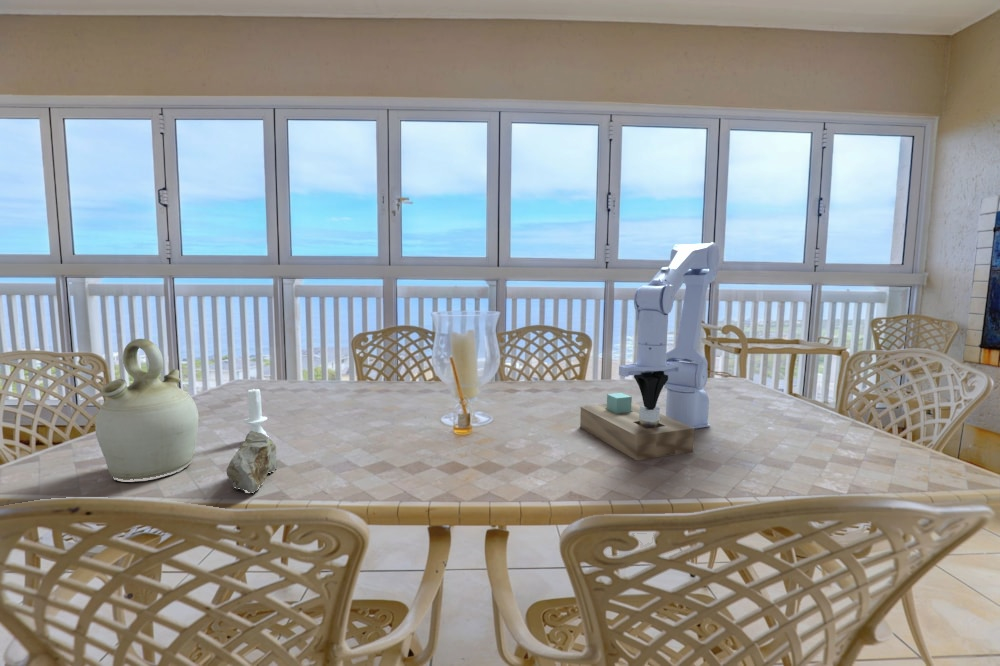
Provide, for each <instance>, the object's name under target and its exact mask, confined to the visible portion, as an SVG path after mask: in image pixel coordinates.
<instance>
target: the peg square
mask: <svg viewBox="0 0 1000 666" xmlns="http://www.w3.org/2000/svg"><path fill="white" fill-rule="evenodd" d="M632 397H633V396H631V395H628V394H626V393H624V392H617V393H607V394H606V404H607V410H609V411H611V412H613V413H615V414H620V413H629V412H631V403H633V402H632Z"/></svg>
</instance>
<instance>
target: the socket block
mask: <svg viewBox="0 0 1000 666" xmlns="http://www.w3.org/2000/svg"><path fill="white" fill-rule="evenodd" d="M640 406H641V405H640V404H637V403H635V402H632V403H631V412H629V413H620V414H615V413H613V412H611V411H609V410H607V403H606V404H604V403H603V404H595V405H587V406H580V414H579V415H580V416H579V417H580V422H579V423H580V425H579V427H580V428H581V429H583V430H584V431H586V432H588V433H589V434H591V435H593V436H594V437H596V438H598V439H600V440H601V441H603V442H604V443H606V444H608V445H609V446H611V447H613V448H614V449H616V450H617V451H619V452H622V453H623V454H624V455H626V456H628V457H629V458H632V459H633V460H635V461H636V462H637V461H644V460H648V459H655V458H661V457H666V456H673V455H678V454H679V455H680V454H685V453H687V454H688V453H691V452H694V441H695V440H694V439H695V438H694V437H695V429H694V428H693V427H690V426H688V425H685V424H683V423H681V422H678V421H676V420H673V419H671V418H669V417H666V415H665V414H664V415H663V414H661V413H659V427H656V428H648V429H646V428H644V427H642V426H640V425H639V413H640Z"/></svg>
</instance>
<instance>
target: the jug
mask: <svg viewBox="0 0 1000 666" xmlns="http://www.w3.org/2000/svg"><path fill="white" fill-rule="evenodd" d="M140 349H141V350H142V351H143V352H144V353H145V355H146V356H147V361H148V365H149V366H148V370H147V372H146V371H144V370H143V369H142V368H141V367H140V364H139V362H138V352H139V350H140ZM122 363H123V367H124V370H125V371H126V373H127V374H129V376H130V377H131V378H132V379H133V381H132V383H131V384H130V385H128V386H127V383H128V382H127V381H126V380H125V379H121V378H120V379H116V380H112V381H110V382H108V383H107V384H105V385H104V386H103V387H102V388H101V391H100V394H101V396H103V397H105V398H107V399H105V401H104V402H103V403H102V405H101V406H100V408H99V410H98V412H97V416H96V418H95V419H96V420H95V424H94V425H95V426H94V427H95V430H94V431H95V436H96V440H97V442H98V443H97V444H98V445H99V447H100V450H101V452H102V455H103V457H104V459H105V464H106V467H107V470H108V472H109V473H110V474H111V477H112V476H113V477H114V478H118V479H123V480H130V479H133V480H134V479H143V478H150V477H156V476H160V475H164V474H167V473H171V472H174V471H177V470H179V469H181V468H183V467H185V466H186V465H188V464H189V463H190V462H191V461H192V462H193V457H194V453H195V449H196V443H197V439H198V438H197V437H198V432H199V431H198V429H199V421H200V419H199V417H200V415H199V411H198V406H197V404H196V403H195V400H194V399H193V398H192V396H191V395H190V394H189V393H188V392H187V391H186V390H184V389H182V388H180V387H179V386H178V385H179V384H180V382H181V380H182V379H181V378H180V370H179V369H176V368H173V369H172V370H171V371H170V372H168V373H167V374H165V375H163V380H162V381H161V380H160V379H159V376H160V375H161V373H162V371H163V368H164V358H163V354H162V352H161V350H160V348H159V347H158V346H157V344H155V342H152V341H151V340H149V339H145V338H138V339H137V338H136V339H134V340H131V341H130V342H128V343H127V345H125V347H124V349H123V353H122Z"/></svg>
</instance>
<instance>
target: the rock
mask: <svg viewBox="0 0 1000 666" xmlns="http://www.w3.org/2000/svg"><path fill="white" fill-rule="evenodd" d="M248 433H249V434H248ZM248 433H247V434H248V435H247V434H246V436H245V438H244V440H245V441H244V440H243V441H242V442H241V444H240V448H238V450H237V451H236V453H235V454H234V456H233V457H232V458H231V460H230V462H229V464H228V465H227V468H226V476H227V478H228V480H229V482H232V488H233V487H236V489H235V490H238V488H240V489H244V490H247V491H248V492H250V493H252V492H254V491H257V489H258V487H259V485H261V484H262V483H263V482H264V483H265V481H266V478H267V476H268V475H269V474H268V472H272V471H274V470H275V469H276V468H277V469H278V466H279V465H278V459H277V446H276V444H274V441H273V440H272V439H271V437H270V438H269V437H268V436H269V435H267V436H266V435H264V434H262V433H258V432H253V431H250V430H249V432H248ZM277 469H276V470H277ZM276 470H275V471H276ZM257 492H258V491H257Z"/></svg>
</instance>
